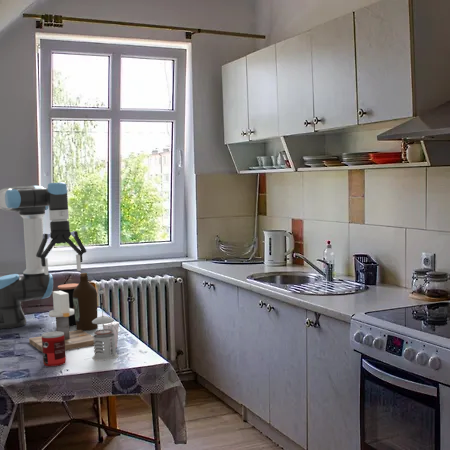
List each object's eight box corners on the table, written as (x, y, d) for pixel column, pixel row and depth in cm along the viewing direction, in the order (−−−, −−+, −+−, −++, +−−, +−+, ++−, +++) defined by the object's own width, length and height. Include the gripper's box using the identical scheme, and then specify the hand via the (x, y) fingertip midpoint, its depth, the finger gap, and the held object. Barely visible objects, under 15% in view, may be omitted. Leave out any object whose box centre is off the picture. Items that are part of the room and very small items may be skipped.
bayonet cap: (46, 314, 266) (44, 292, 266) (69, 310, 272) (68, 289, 271) (54, 318, 256) (53, 296, 256) (79, 315, 262) (77, 293, 261)
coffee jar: (77, 326, 297) (75, 287, 295) (55, 326, 299) (53, 287, 298) (87, 321, 307) (84, 283, 306) (66, 321, 309) (63, 283, 308)
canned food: (45, 361, 240) (43, 332, 239) (67, 359, 240) (65, 330, 240) (41, 367, 232) (39, 337, 231) (64, 365, 233) (62, 335, 232)
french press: (106, 352, 249) (102, 287, 247) (127, 356, 242) (123, 289, 240) (86, 358, 241) (82, 291, 240) (106, 362, 234) (102, 294, 232)
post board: (29, 343, 269) (27, 315, 268) (80, 334, 281) (79, 307, 280) (44, 353, 250) (42, 323, 250) (99, 344, 262) (97, 315, 261)
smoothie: (106, 350, 251) (104, 314, 250) (102, 347, 257) (99, 312, 256) (122, 348, 254) (120, 312, 253) (117, 344, 260) (115, 309, 259)
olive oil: (96, 324, 298) (93, 270, 296) (101, 329, 289) (98, 273, 287) (73, 327, 294) (69, 272, 292) (77, 332, 284) (73, 275, 283)
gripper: (31, 223, 255) (35, 276, 256) (92, 218, 268) (95, 269, 269) (26, 222, 261) (29, 275, 262) (85, 218, 274) (88, 268, 276)
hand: (63, 272), depth 266 cm, fingers open, 13 cm apart
